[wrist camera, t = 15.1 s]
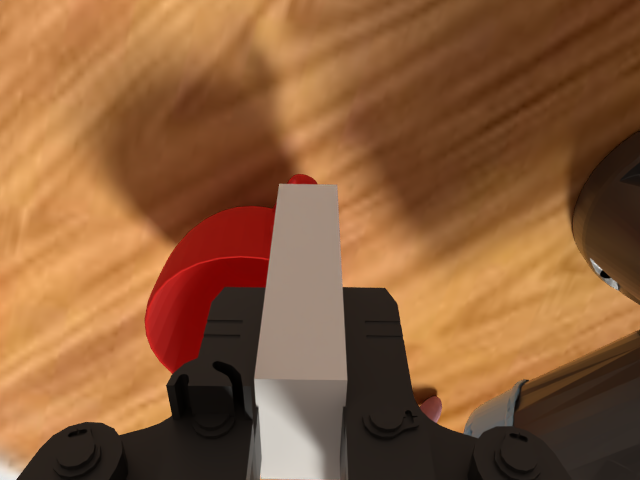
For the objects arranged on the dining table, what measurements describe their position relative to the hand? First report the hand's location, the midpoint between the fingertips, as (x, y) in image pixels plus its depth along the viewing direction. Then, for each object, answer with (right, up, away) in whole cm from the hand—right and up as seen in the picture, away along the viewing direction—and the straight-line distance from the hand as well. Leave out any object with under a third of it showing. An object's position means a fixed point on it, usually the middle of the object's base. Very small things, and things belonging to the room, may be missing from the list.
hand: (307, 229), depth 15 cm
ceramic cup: (-4, +1, +28) cm, 28 cm away
